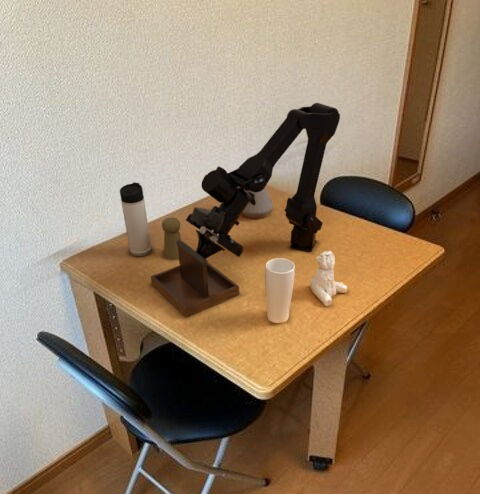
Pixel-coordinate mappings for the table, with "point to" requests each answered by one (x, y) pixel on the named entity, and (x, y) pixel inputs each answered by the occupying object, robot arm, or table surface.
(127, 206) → the travel mug
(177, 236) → the olive game pawn
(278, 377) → the table surface
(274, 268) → the drinking glass
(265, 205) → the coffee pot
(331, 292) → the sitting furry creature
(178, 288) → the tray
